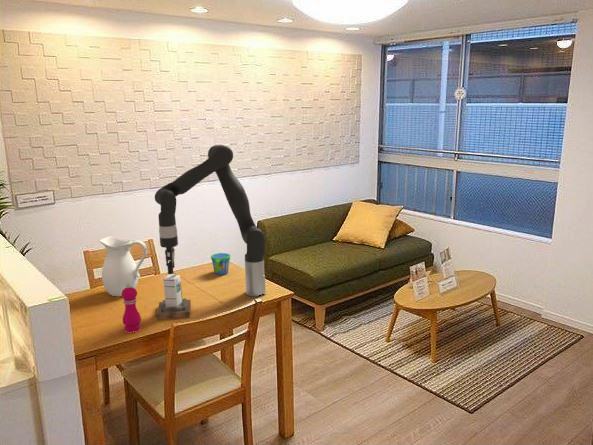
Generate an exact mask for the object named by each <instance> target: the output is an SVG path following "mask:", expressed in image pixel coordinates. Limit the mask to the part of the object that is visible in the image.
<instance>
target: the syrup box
mask: <svg viewBox="0 0 593 445" xmlns="http://www.w3.org/2000/svg"><path fill="white" fill-rule="evenodd" d="M162 280H163V282H162V283H163V289H164V290H163V292H164V300H165V303H166V308H168V307H181V306H182V305H183V301H182V299H183V292H182V291H183V290H182V281H181V275H180V274H175V273H173V274H167V275H166V276H165V277H164V278H163V279H162Z"/></svg>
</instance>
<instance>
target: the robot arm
mask: <svg viewBox="0 0 593 445" xmlns="http://www.w3.org/2000/svg"><path fill="white" fill-rule="evenodd" d="M233 158H234V152H233V150H232V148H231V147H230V146H227V145H223V144H222V145H220V144H217V145H215V144H214V145H212V146H211V147H210V148H209V149H208V150H207V159H206V160H204V161H203V162H201V163H200V164H198V165H196V166H194V167H192V168H190V169H189V170H187V171H185V172H184V173H182V174H181V175H179V176H178V177H177V178H176V179H175V180H173V181H171V182H169V183H168V184H165V185H164V186H162V187H161V188H159V189H158V190H157V191H156V192H155V193H154V201H155V202H156V204H158V205H160V212H159V213H158V233H159V234H158V235H159V245H160V247H161V248H165V249H164V250H165V251H164V256H165V262H166V264H165V266H167V275H169V274H174V269H175V267H176V266H175V255H176V253H175V252H176V250H175V247H177V246H178V245H179V239H178V238H179V237H178V228H177V222H176V221H177V220H176V210H177V197H178V196H180V195H184V194H185V193H187V192H189V190H191V189H192V188H194V187H195V186H196V185H197V184H199V183H201V182H202V181H203V180H204V179H206V178H207V177H208V176H210V175H212V174H213V173H215V174H216V176H217V178H218V181H219V183H220V186H221V188H222V190H223V192H224V196H225V198H226V201H227V203H228V205H229V207H230V209H231V212H232V214H233V215H234V219H235V220H236V221H237V222H236V223H237V225H238V228H239V231H240V234H241V238H242V241H243V242H244V243H245V244H246V253H245V254H244V270H245V271H244V273H245V274H244V275H245V293H246V295H247V296H248V297H260V296H259V295H261V294H264V293H265V294H266V276H265V256H266V235H265V233H264V232H263V231H262V230H261V229H260V228H258V227H257V225H256V224H255V221H254V220H253V218H252V215H251V208H250V202H249V198H248V196H247V193H246V191H245V189H244V188H245V187H244V186H243V185H242V183H241V182H240V181H239V179H238V178H237V177H236V174H234V173H233V171H232V169H231V166H230V164H231V163H232V161H233ZM261 296H262V295H261Z"/></svg>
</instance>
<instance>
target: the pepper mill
mask: <svg viewBox="0 0 593 445" xmlns="http://www.w3.org/2000/svg"><path fill="white" fill-rule="evenodd" d="M126 287H127V288H125V289H123V291H122V296H121V298H122V299H123V304H124V312H123V315H122V324H123V325H124V332H125V331H127V332H133V331H134V333H136V332H135V331H137V332H138V330H139V329H140V328H141V322H142V321H141V320H142V317H141V315H140V313H139V311H138V309H137V306H136V305H137V304H136V303H137V295H138V291H137V289H135V288H133V287H131V285H130V284H127V285H126ZM140 330H141V329H140ZM140 330H139V331H140ZM127 332H126V333H127Z"/></svg>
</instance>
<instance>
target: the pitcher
mask: <svg viewBox="0 0 593 445" xmlns="http://www.w3.org/2000/svg"><path fill="white" fill-rule="evenodd" d="M98 241H99V242H100V243H101V244H102V245H103V246H104V248H105V249H106V254H105V258H104V261H103V265H102V269H101V270H102V271H101V280H102V284H103V287H104V288H105V290H106V291H107V293H108V294H109V295H110V296H111V295H112V296H111V297H114V296H121V297H122V291H123V289H125V288H127V287H126V285H127V284H130V285H131V287H133V288H135V289H136V288H137V286H138V283H139V278H141V275H140V273H139V268H140V266H141V265H142V263H143V262H144V261H145V259H146V257H147V256H148V255H147V254H148V247H147V244H146V243H145V242H144V241H142V240H134V241H132V240H131V239H130V240H123V239H120V238H118V237H115V236H111V235H110V236H109V235H108V236H106V237H104V238H102V239H100V240H98ZM135 245H139V246H141V248H142V249H143V253H142V256H141V259H140V260H139V262H138V263H137V264H136V262H135V260H134V258H133V256H132V254H131V252H130V251H131V250H132V247H133V246H135ZM136 290H137V289H136Z"/></svg>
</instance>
